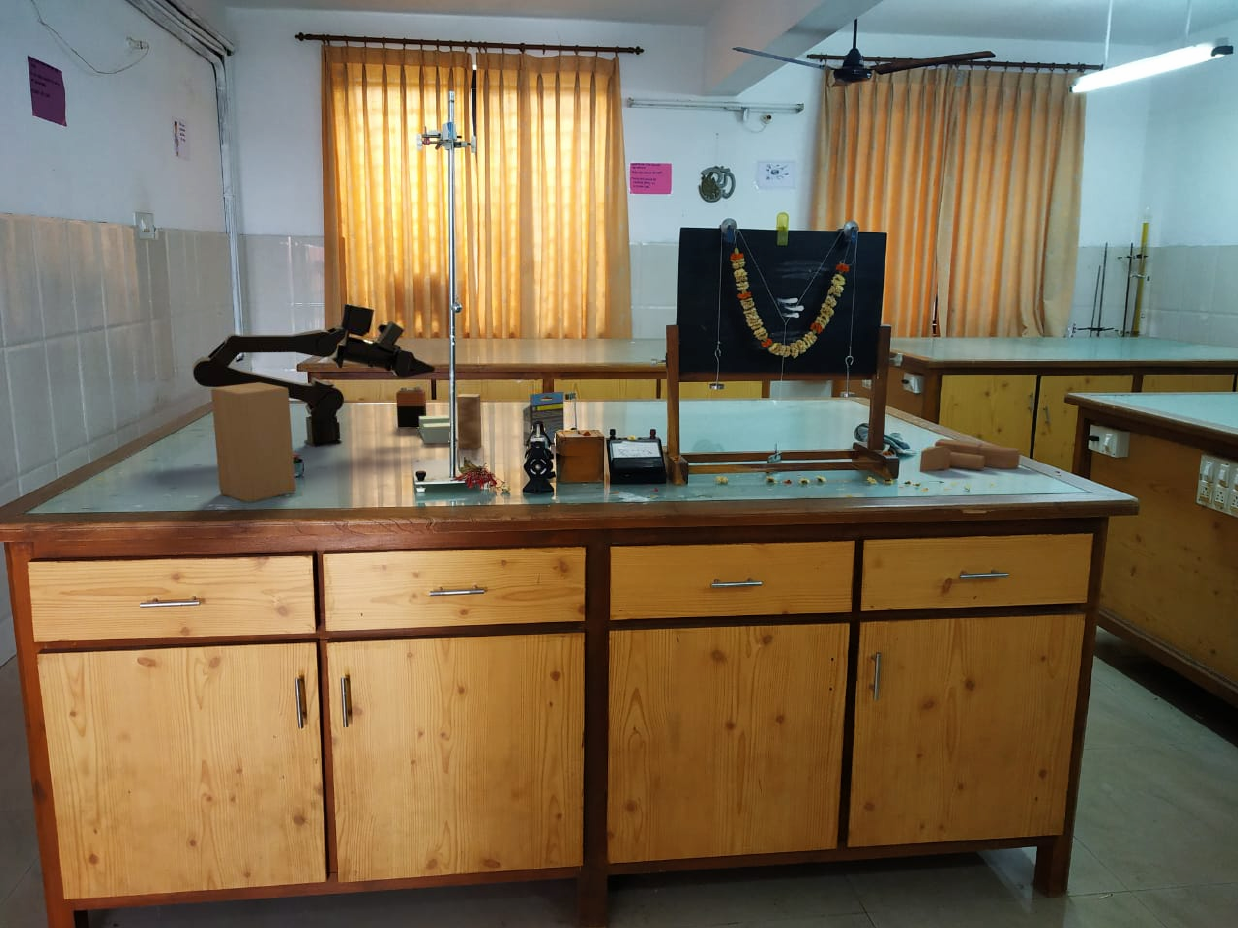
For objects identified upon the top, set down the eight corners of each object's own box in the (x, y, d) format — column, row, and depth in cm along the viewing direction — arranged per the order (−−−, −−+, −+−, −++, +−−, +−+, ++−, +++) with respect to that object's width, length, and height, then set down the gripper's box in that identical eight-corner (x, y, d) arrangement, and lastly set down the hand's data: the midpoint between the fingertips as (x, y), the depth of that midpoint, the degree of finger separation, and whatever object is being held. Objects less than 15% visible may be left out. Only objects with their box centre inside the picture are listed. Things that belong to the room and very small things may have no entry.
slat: (458, 448, 217) (456, 396, 214) (462, 444, 220) (461, 393, 218) (477, 449, 216) (476, 397, 213) (481, 445, 220) (480, 394, 217)
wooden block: (268, 483, 185) (260, 381, 180) (296, 492, 178) (289, 387, 174) (219, 493, 177) (209, 387, 172) (247, 503, 171) (238, 393, 166)
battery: (424, 428, 239) (423, 388, 237) (397, 428, 239) (395, 388, 236) (427, 424, 243) (425, 386, 241) (400, 424, 243) (398, 386, 240)
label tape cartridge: (556, 440, 227) (556, 389, 224) (564, 443, 224) (564, 391, 221) (523, 444, 222) (522, 392, 219) (530, 447, 219) (530, 394, 216)
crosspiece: (455, 442, 223) (454, 425, 222) (425, 444, 221) (424, 427, 220) (447, 430, 236) (447, 415, 235) (419, 432, 234) (418, 416, 233)
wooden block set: (936, 433, 213) (1021, 443, 204) (934, 458, 214) (1018, 468, 205) (916, 446, 199) (1007, 457, 190) (914, 472, 200) (1004, 485, 191)
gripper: (380, 322, 211) (447, 338, 218) (364, 315, 227) (427, 330, 235) (369, 370, 212) (436, 385, 220) (354, 360, 229) (417, 374, 236)
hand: (429, 367), depth 227 cm, fingers open, 9 cm apart
